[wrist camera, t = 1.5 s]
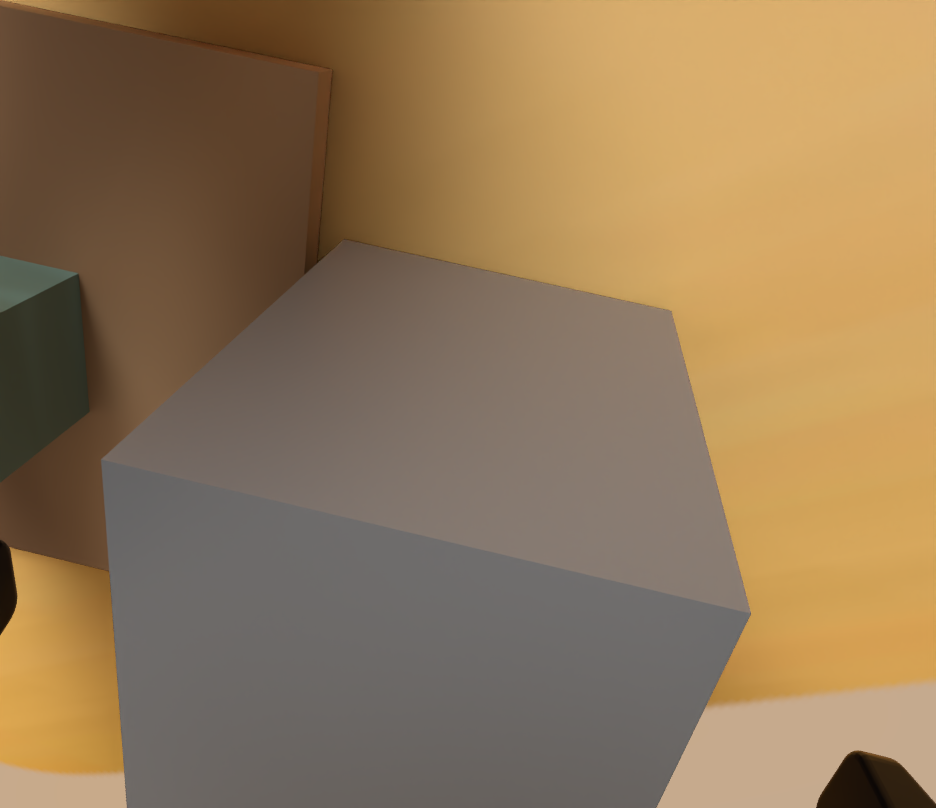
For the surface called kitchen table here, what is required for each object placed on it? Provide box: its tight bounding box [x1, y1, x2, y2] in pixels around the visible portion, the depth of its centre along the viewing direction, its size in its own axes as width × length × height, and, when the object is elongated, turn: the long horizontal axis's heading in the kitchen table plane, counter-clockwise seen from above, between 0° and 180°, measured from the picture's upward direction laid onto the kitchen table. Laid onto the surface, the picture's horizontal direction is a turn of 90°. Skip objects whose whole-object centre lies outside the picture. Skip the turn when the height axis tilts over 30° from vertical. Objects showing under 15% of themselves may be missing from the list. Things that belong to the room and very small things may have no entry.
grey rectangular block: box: [101, 239, 751, 808], centre depth 10 cm, size 5×5×7 cm
